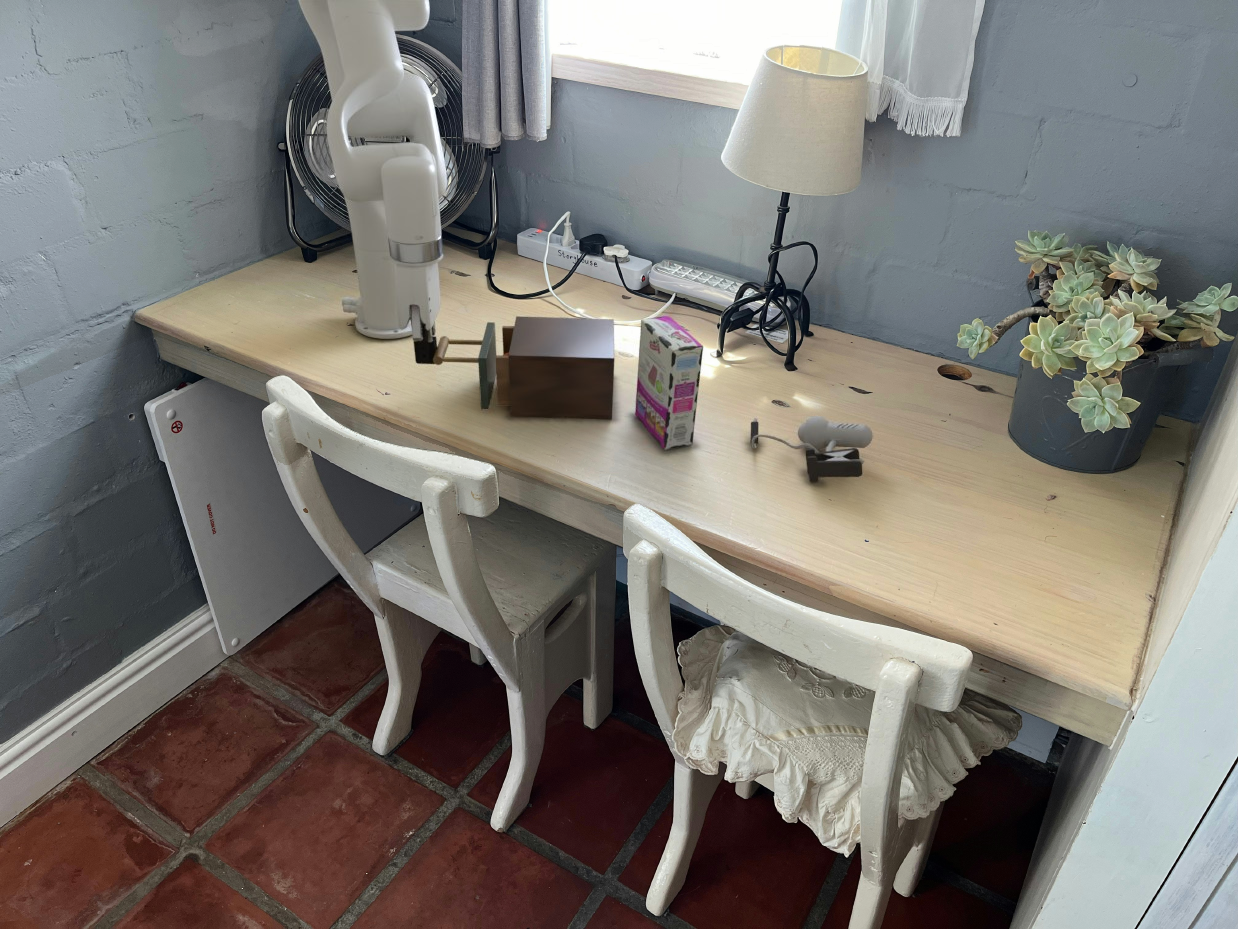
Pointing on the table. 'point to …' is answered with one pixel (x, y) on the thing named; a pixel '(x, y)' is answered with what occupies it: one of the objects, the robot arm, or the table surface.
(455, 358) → the drawer
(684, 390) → the candy bar box
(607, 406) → the cabinet
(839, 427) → the clip-on lamp
